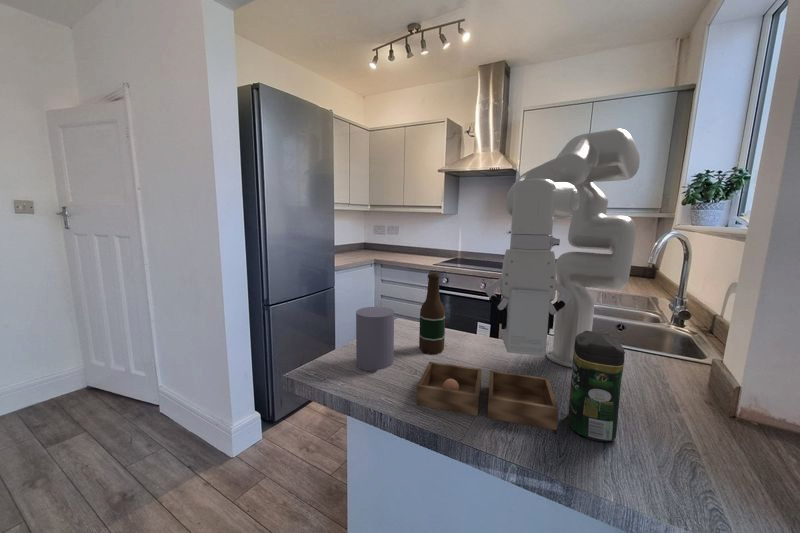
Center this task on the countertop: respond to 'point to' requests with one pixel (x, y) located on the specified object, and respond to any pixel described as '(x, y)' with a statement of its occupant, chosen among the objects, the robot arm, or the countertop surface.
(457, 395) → the bin
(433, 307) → the beer bottle
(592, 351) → the coffee jar
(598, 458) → the countertop surface
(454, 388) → the ball
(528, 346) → the supplement box
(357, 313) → the container
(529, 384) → the bin
